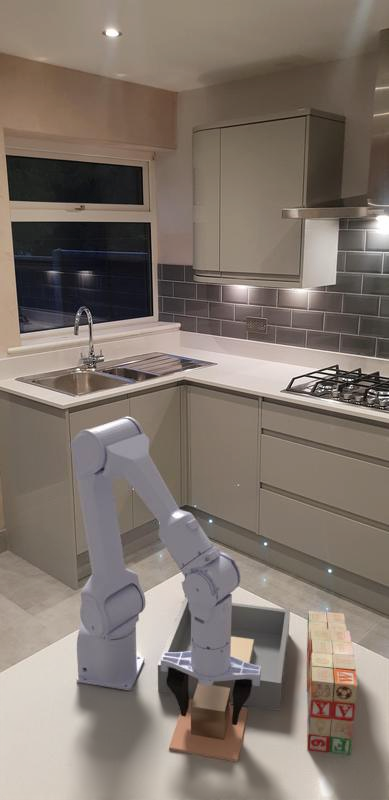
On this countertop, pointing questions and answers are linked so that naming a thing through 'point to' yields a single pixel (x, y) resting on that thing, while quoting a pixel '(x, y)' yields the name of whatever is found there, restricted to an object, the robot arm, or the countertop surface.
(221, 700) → the walnut block
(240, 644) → the grey crate
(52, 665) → the countertop surface
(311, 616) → the stack of blocks
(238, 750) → the terracotta mat
